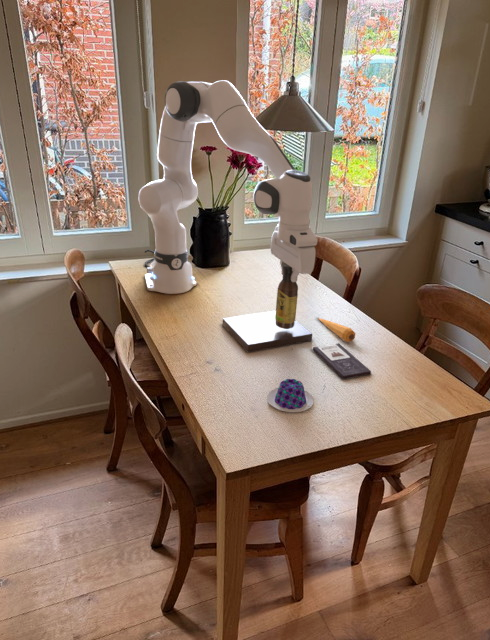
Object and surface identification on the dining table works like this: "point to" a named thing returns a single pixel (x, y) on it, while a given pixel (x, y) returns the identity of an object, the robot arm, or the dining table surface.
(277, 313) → the sauce bottle
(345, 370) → the chocolate bar
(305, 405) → the pudding
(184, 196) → the robot arm
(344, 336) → the carrot
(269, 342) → the walnut board
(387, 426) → the dining table surface
